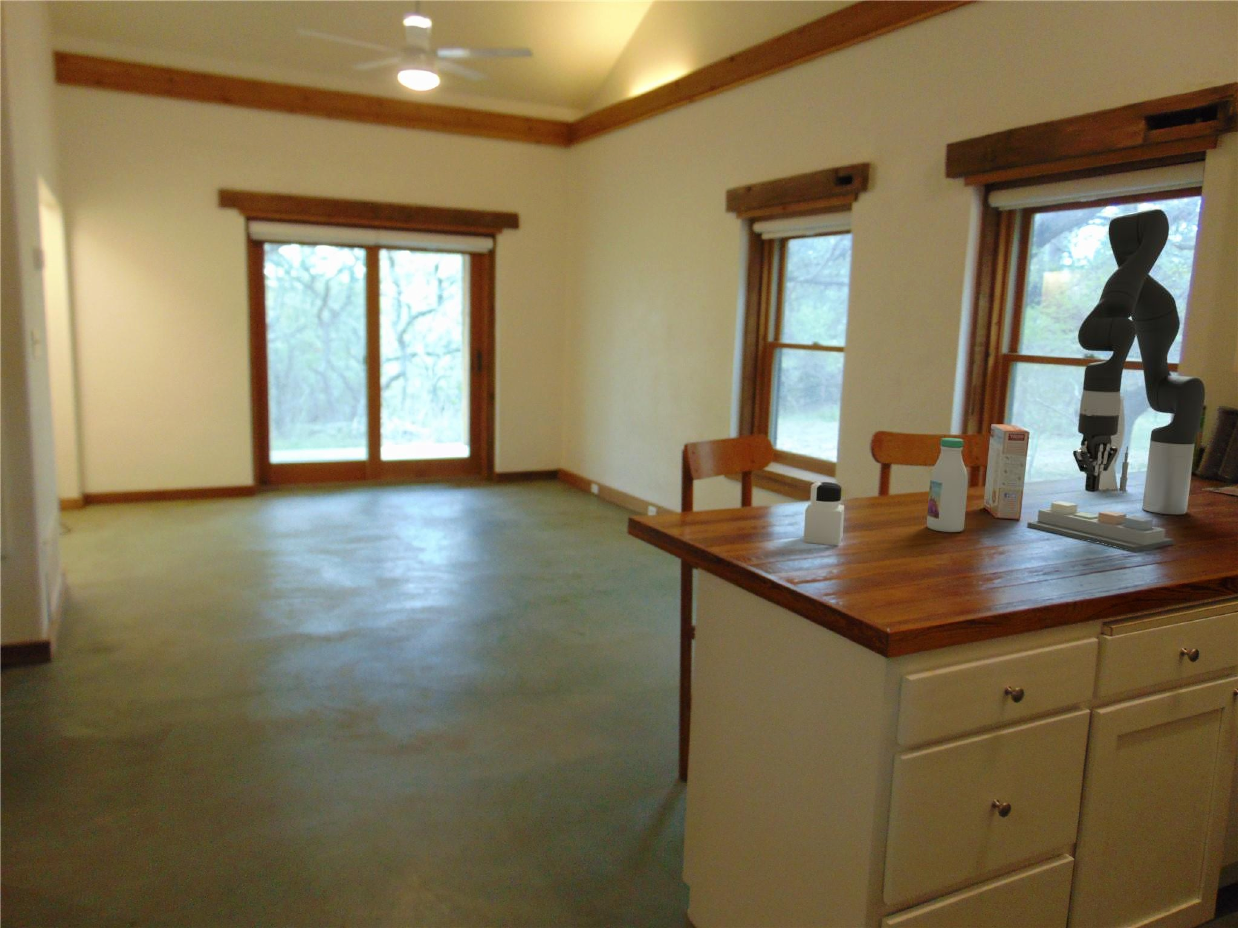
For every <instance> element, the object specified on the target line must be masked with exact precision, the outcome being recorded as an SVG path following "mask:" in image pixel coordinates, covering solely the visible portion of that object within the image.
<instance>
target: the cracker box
mask: <svg viewBox="0 0 1238 928" xmlns="http://www.w3.org/2000/svg"><path fill="white" fill-rule="evenodd" d="M1029 441H1030V431H1028V430H1026V429H1024V428H1021V427H1019V426H1017V425H1014V424H1004V423H1003V424H999V423H998V424H996V423H993V424H991V426H990V435H989V445H988V448H989V449H988V456H987V466H986V467H987V468H986V476H985V478H986V479H985V487H984V498H983V508H984V509H985V510H987V512H988V513H990V514H991V515H992V516H993V517H994V518H995V519H1000V520H1001V519H1003V520H1015V521H1016V520H1017V521H1018V520H1021V517H1022V516H1021V515H1022V506H1023V498H1024V488H1025V477H1026V470H1027V460H1028V459H1027V458H1028V451H1029Z"/></svg>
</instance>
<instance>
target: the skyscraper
mask: <svg viewBox="0 0 1238 928" xmlns="http://www.w3.org/2000/svg"><path fill="white" fill-rule="evenodd" d="M1124 401H1125V397H1124V396H1122V395H1120V412H1119V422H1118V432H1117V434H1116V435H1114V436H1111V440H1112V443H1111V446H1112V447H1115V448H1117V449H1118V450H1117V453H1116V455H1115V457H1114V459H1113V461H1112V462H1111V464H1110V466H1109V468H1108V470H1107V471H1103V473H1102V475H1100V483H1099V491H1102V492H1105V491H1116V492H1128V490H1127V483H1128V471H1129V470H1128V469H1129V465H1130V464H1129V463H1130V462H1129V461H1128V458H1129V452H1128V451H1129V446H1126V450H1125V451H1126V452H1124V459H1123V460H1124V461H1122V467H1121V476H1120V477H1119V486H1118V481H1117V475H1116V465H1117V462H1118V459H1119V457H1120V453H1121V450H1122V447H1123V443H1124V438H1125V431H1126V424H1125V423H1126V418H1125V415H1126V414H1125V405H1124Z"/></svg>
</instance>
